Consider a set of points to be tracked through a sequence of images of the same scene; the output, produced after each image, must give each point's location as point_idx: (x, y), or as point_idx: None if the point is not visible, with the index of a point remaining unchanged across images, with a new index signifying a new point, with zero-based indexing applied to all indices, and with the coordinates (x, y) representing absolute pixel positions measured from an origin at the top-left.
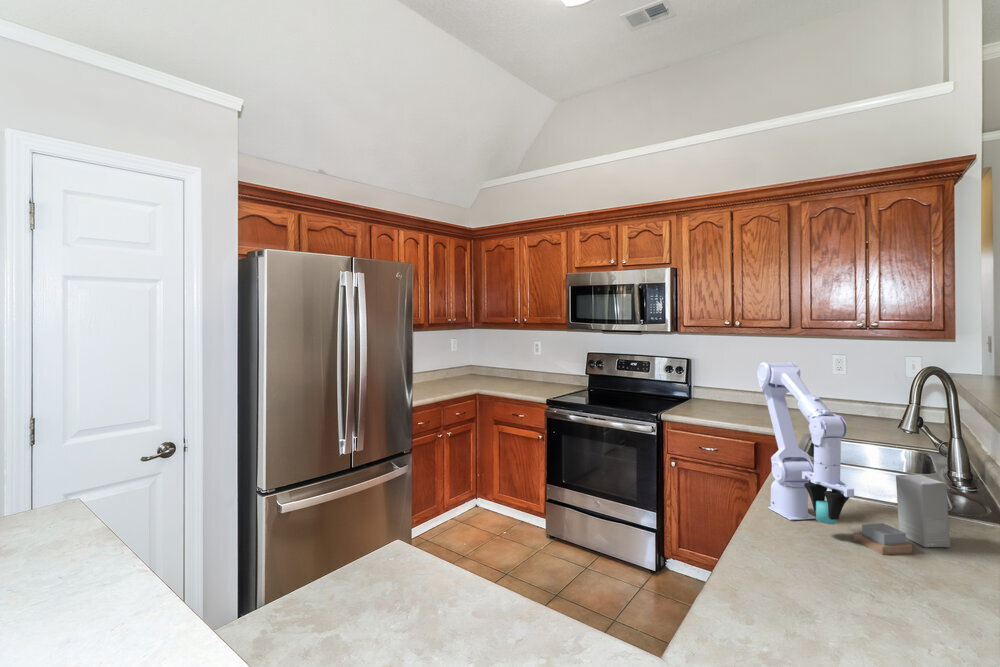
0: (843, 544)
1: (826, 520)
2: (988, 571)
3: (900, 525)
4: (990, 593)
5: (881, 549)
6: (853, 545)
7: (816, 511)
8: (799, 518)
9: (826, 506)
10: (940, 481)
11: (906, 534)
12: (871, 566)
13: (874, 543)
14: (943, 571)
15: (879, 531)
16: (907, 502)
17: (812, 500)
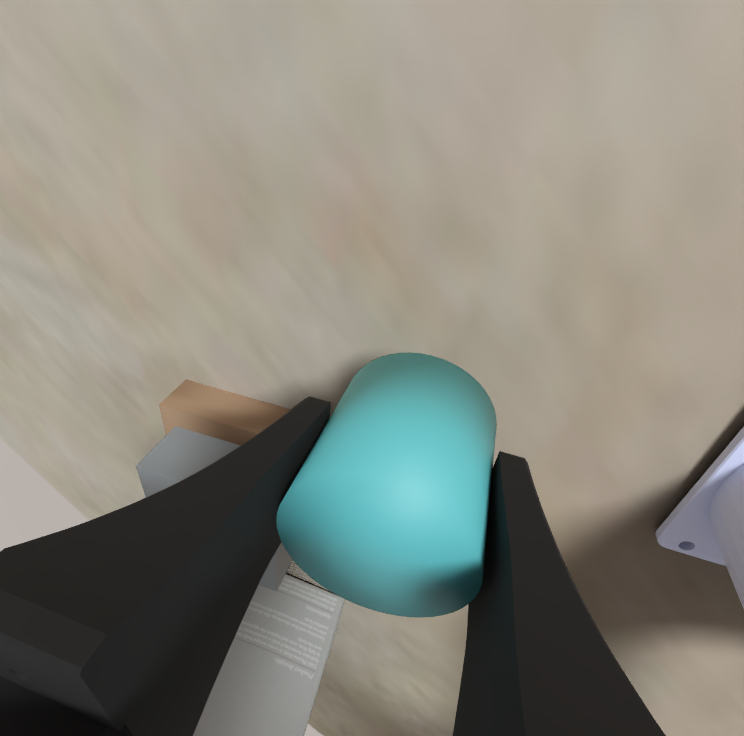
0: (313, 328)
1: (356, 380)
2: (89, 516)
3: (321, 634)
4: None
5: (175, 395)
6: (292, 364)
7: (451, 423)
8: (732, 451)
9: (300, 481)
10: None
11: (301, 596)
12: (58, 198)
13: (206, 416)
14: (67, 423)
15: None
16: None
17: (534, 548)
